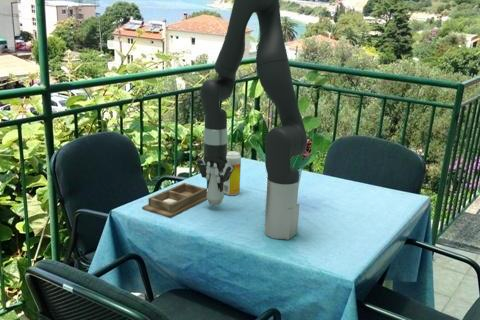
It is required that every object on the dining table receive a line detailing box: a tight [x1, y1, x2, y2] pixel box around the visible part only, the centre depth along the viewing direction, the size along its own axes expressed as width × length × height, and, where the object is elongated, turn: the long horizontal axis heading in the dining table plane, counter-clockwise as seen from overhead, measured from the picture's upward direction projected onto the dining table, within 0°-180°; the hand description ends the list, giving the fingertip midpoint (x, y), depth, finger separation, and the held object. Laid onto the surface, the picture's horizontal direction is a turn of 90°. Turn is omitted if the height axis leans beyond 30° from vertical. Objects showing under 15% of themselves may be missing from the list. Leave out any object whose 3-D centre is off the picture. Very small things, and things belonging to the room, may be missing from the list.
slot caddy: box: [141, 182, 208, 219], centre depth 175 cm, size 12×23×4 cm, turn 148°
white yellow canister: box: [223, 150, 242, 197], centre depth 184 cm, size 6×6×15 cm
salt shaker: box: [206, 167, 225, 206], centre depth 170 cm, size 6×6×13 cm
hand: (214, 191), depth 170 cm, fingers closed on salt shaker, 3 cm apart
